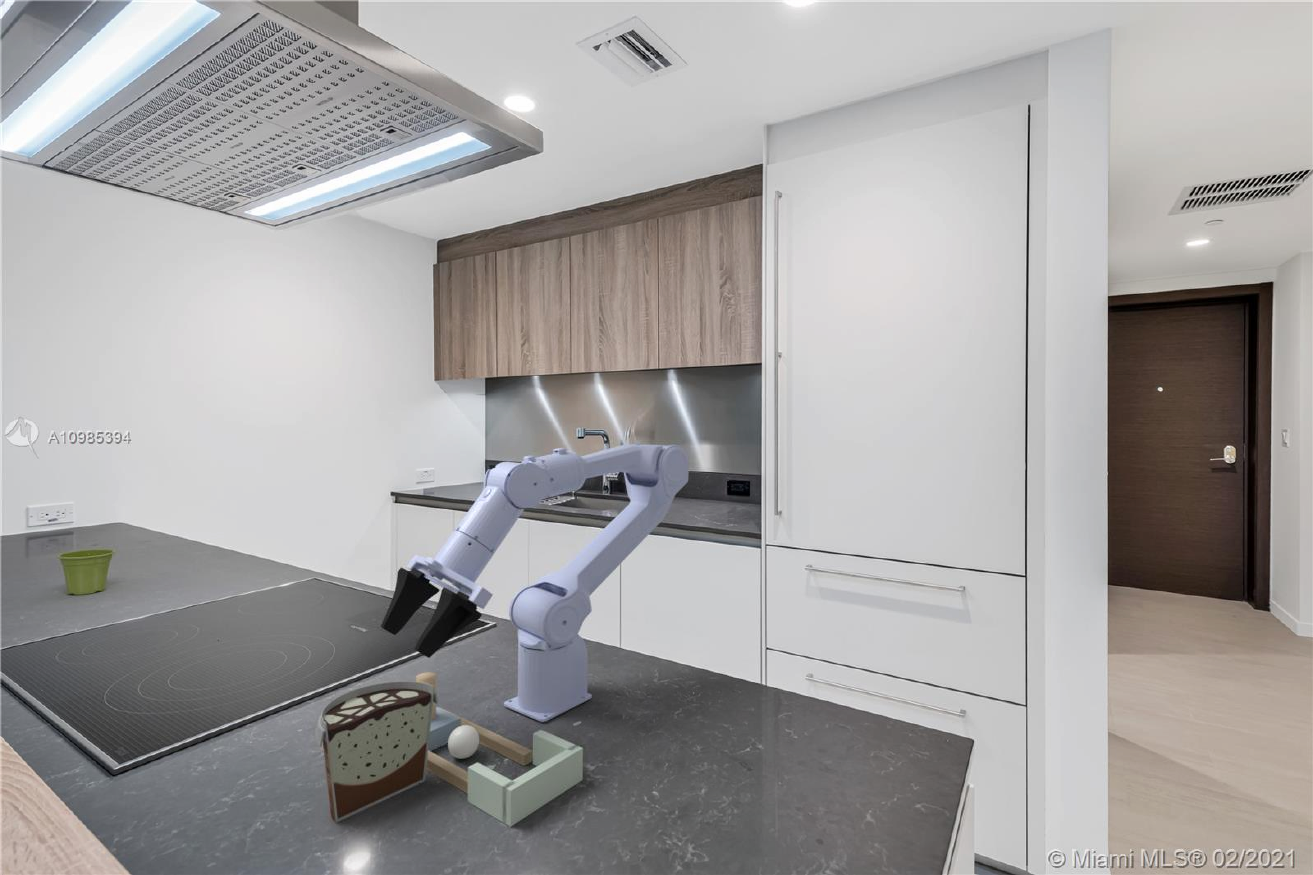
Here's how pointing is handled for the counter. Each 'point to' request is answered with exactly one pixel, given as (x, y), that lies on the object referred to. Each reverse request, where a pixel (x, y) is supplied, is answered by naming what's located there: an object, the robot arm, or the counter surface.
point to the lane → (486, 739)
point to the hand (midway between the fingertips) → (404, 642)
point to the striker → (438, 717)
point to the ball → (463, 741)
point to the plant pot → (86, 570)
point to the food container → (375, 743)
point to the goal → (527, 780)
